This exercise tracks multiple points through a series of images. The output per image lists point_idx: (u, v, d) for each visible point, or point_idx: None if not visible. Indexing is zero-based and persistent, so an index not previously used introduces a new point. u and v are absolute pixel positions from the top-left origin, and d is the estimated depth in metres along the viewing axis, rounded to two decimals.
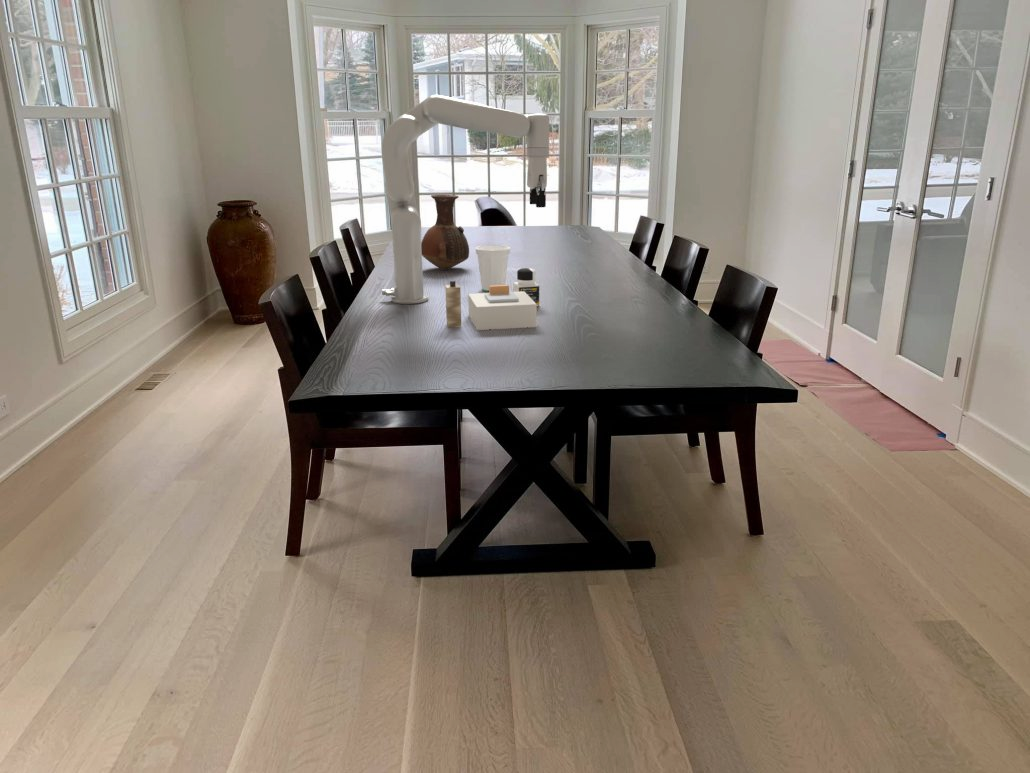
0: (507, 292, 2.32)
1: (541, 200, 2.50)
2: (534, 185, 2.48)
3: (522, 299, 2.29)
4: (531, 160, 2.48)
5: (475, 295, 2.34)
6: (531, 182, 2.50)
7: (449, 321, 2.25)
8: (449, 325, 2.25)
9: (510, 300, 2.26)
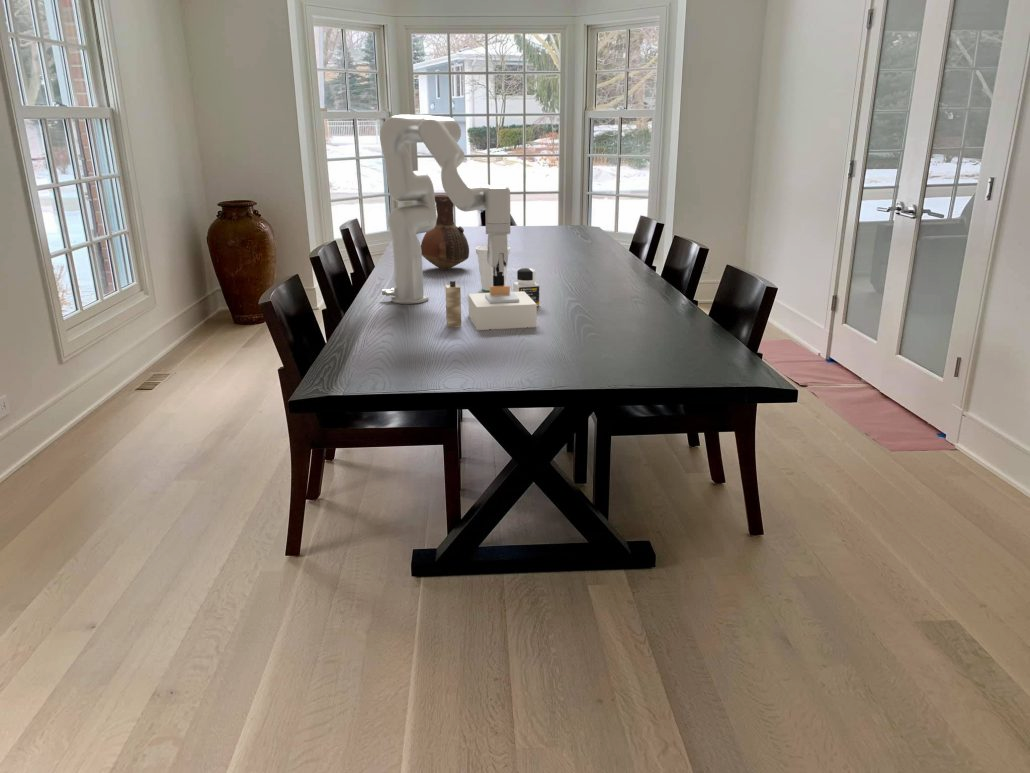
0: (508, 293, 2.31)
1: (499, 281, 2.31)
2: (494, 264, 2.26)
3: (522, 299, 2.29)
4: (490, 236, 2.26)
5: (475, 295, 2.34)
6: (491, 260, 2.27)
7: (449, 321, 2.25)
8: (449, 325, 2.25)
9: (511, 301, 2.25)
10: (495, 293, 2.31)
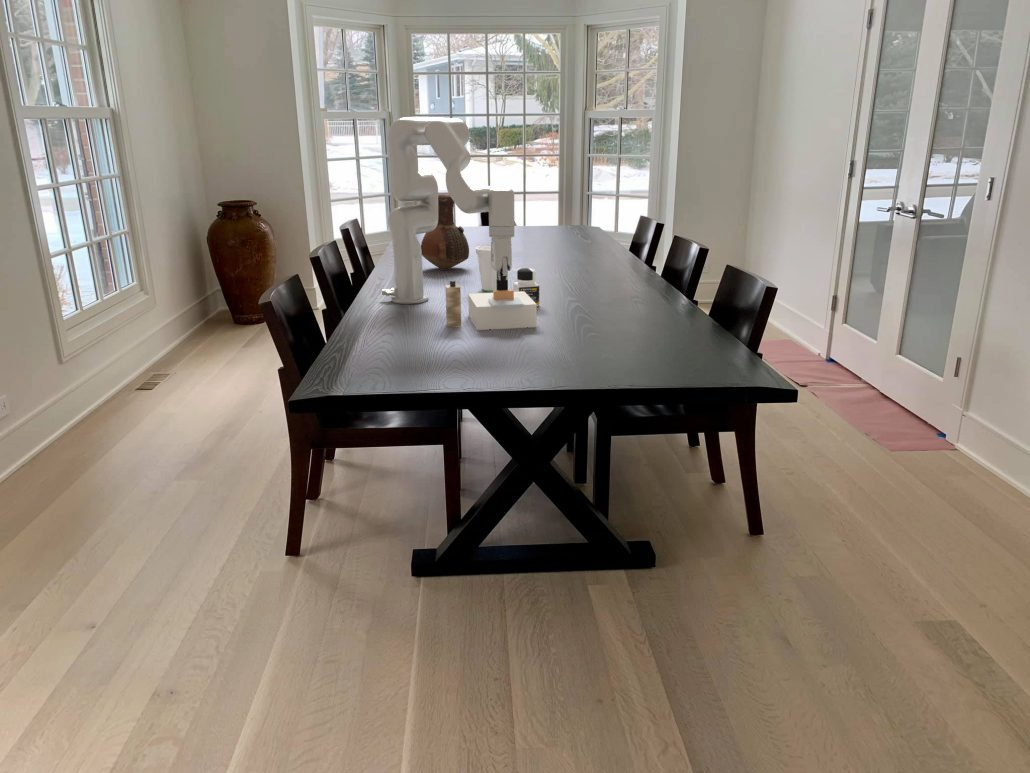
0: (511, 297, 2.26)
1: (503, 286, 2.25)
2: (497, 268, 2.20)
3: (522, 299, 2.29)
4: (494, 240, 2.20)
5: (475, 295, 2.34)
6: (494, 264, 2.22)
7: (449, 321, 2.25)
8: (449, 325, 2.25)
9: (515, 306, 2.19)
10: (499, 298, 2.25)
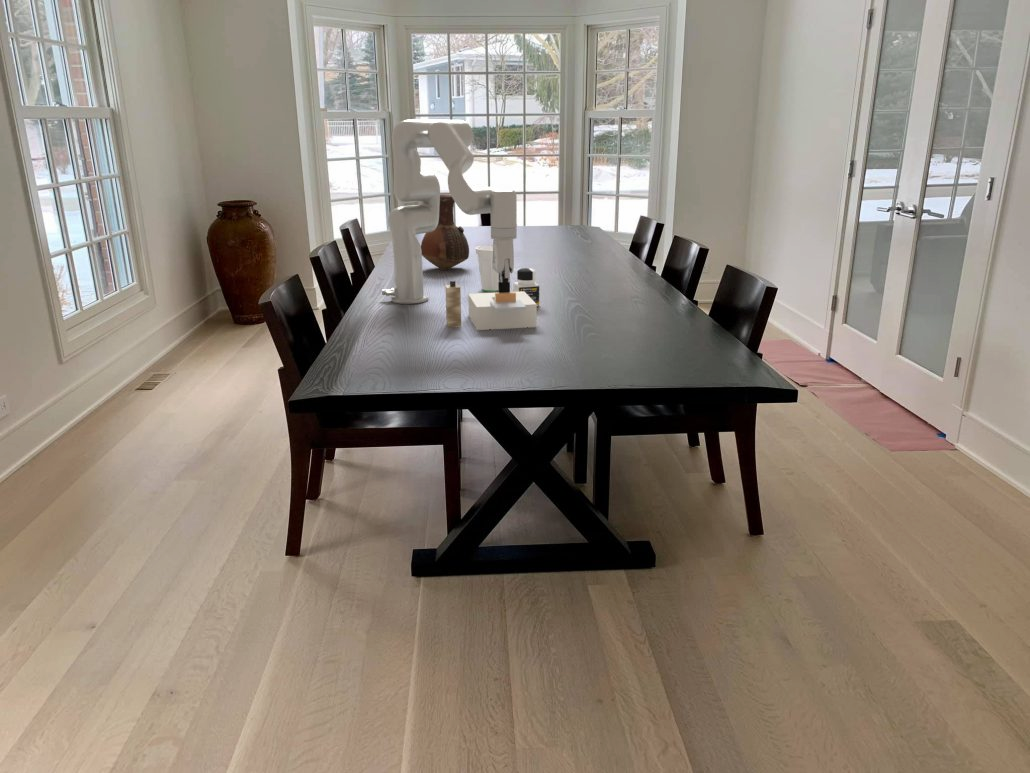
0: (514, 300, 2.22)
1: (505, 288, 2.22)
2: (499, 270, 2.17)
3: (522, 299, 2.29)
4: (496, 241, 2.17)
5: (475, 295, 2.34)
6: (496, 266, 2.18)
7: (449, 321, 2.25)
8: (449, 325, 2.25)
9: (517, 308, 2.16)
10: (501, 300, 2.22)
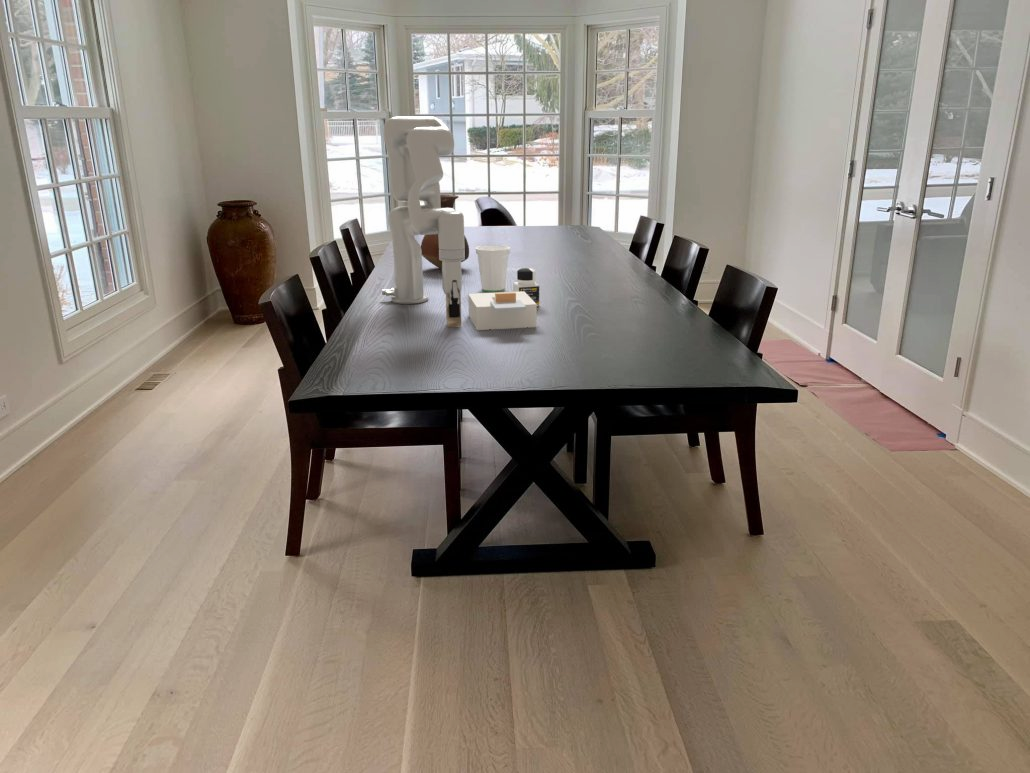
0: (514, 300, 2.22)
1: (454, 310, 2.22)
2: (447, 291, 2.19)
3: (522, 299, 2.29)
4: (444, 263, 2.18)
5: (475, 295, 2.34)
6: (444, 287, 2.20)
7: (449, 321, 2.25)
8: (449, 325, 2.25)
9: (517, 308, 2.16)
10: (501, 300, 2.22)
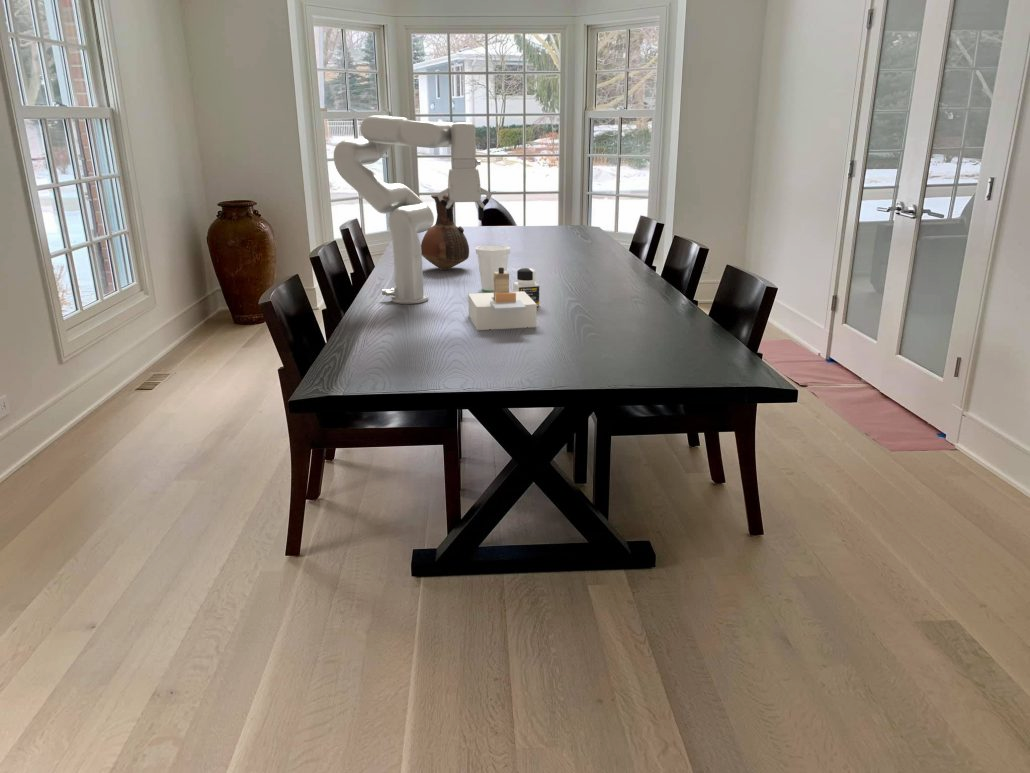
0: (514, 300, 2.22)
1: (446, 213, 2.38)
2: None
3: (522, 299, 2.29)
4: None
5: (475, 295, 2.34)
6: None
7: None
8: None
9: (517, 308, 2.16)
10: (501, 300, 2.22)
